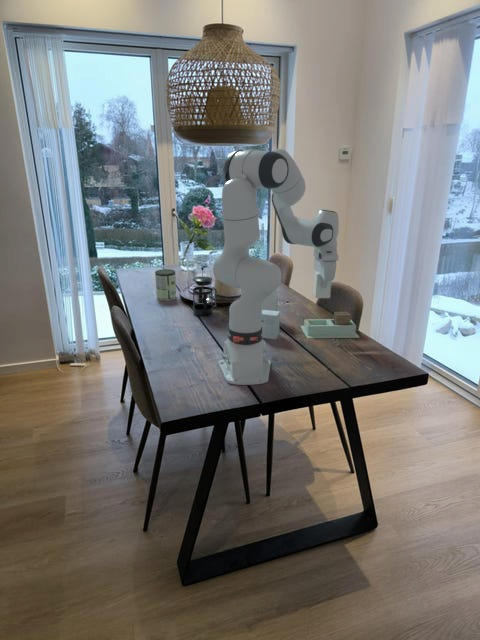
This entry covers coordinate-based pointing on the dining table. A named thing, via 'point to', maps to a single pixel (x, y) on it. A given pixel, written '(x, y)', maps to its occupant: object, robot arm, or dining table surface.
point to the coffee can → (165, 284)
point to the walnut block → (342, 318)
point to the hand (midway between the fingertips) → (322, 285)
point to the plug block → (318, 289)
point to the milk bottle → (271, 302)
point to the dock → (328, 329)
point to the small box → (270, 324)
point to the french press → (203, 296)
